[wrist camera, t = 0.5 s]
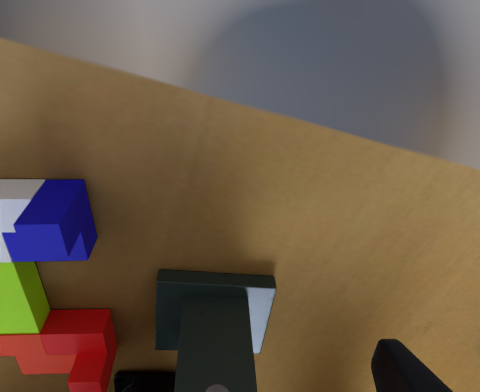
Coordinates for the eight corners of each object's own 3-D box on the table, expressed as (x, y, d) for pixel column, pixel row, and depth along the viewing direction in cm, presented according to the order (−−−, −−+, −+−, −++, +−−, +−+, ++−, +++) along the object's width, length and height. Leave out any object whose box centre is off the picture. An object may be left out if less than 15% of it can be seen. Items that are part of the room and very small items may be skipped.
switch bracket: (274, 275, 27) (302, 429, 18) (258, 340, 31) (276, 494, 22) (158, 268, 26) (129, 426, 17) (156, 336, 30) (132, 495, 21)
